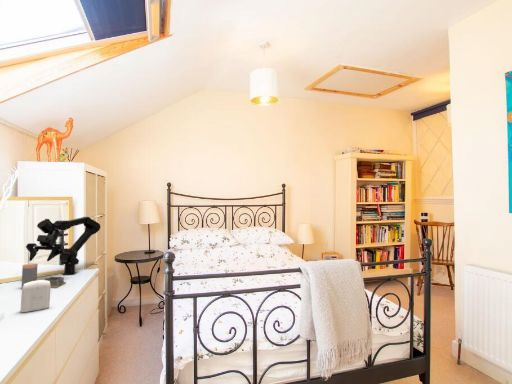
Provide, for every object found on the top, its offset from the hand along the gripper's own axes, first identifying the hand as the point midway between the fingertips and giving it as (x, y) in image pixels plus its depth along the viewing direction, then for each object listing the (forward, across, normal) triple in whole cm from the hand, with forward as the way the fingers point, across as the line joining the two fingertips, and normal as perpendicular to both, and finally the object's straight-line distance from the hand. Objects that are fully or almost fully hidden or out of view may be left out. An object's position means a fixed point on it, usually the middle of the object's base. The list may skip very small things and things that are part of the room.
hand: (38, 260), depth 168 cm
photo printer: (+36, +22, -18) cm, 46 cm away
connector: (+14, 0, +4) cm, 15 cm away
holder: (+11, +9, +8) cm, 16 cm away
